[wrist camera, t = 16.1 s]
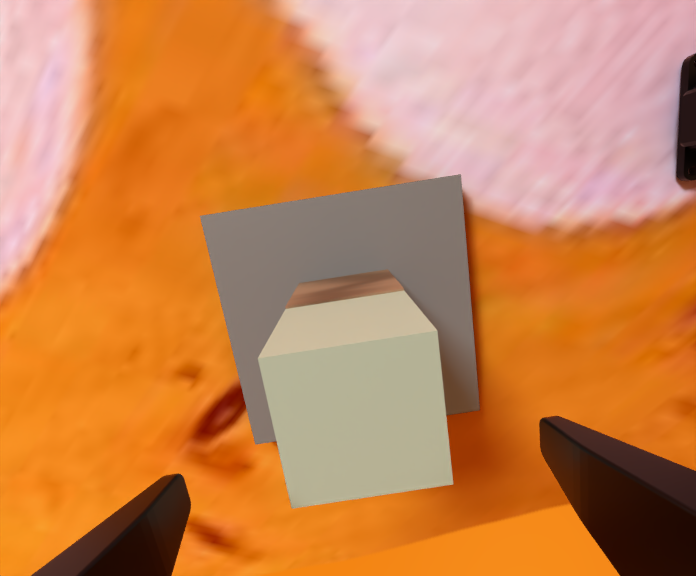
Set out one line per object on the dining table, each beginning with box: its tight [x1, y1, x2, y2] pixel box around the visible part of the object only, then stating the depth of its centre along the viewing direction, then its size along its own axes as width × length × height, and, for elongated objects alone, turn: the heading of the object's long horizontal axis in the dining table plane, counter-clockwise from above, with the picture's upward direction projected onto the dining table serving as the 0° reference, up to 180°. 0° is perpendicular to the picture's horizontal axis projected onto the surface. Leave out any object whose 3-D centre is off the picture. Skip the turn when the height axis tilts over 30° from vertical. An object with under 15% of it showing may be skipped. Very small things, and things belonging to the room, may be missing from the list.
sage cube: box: [258, 291, 453, 508], centre depth 12 cm, size 5×5×5 cm
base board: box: [200, 174, 480, 444], centre depth 21 cm, size 14×14×2 cm
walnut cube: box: [285, 269, 404, 309], centre depth 17 cm, size 5×5×5 cm
